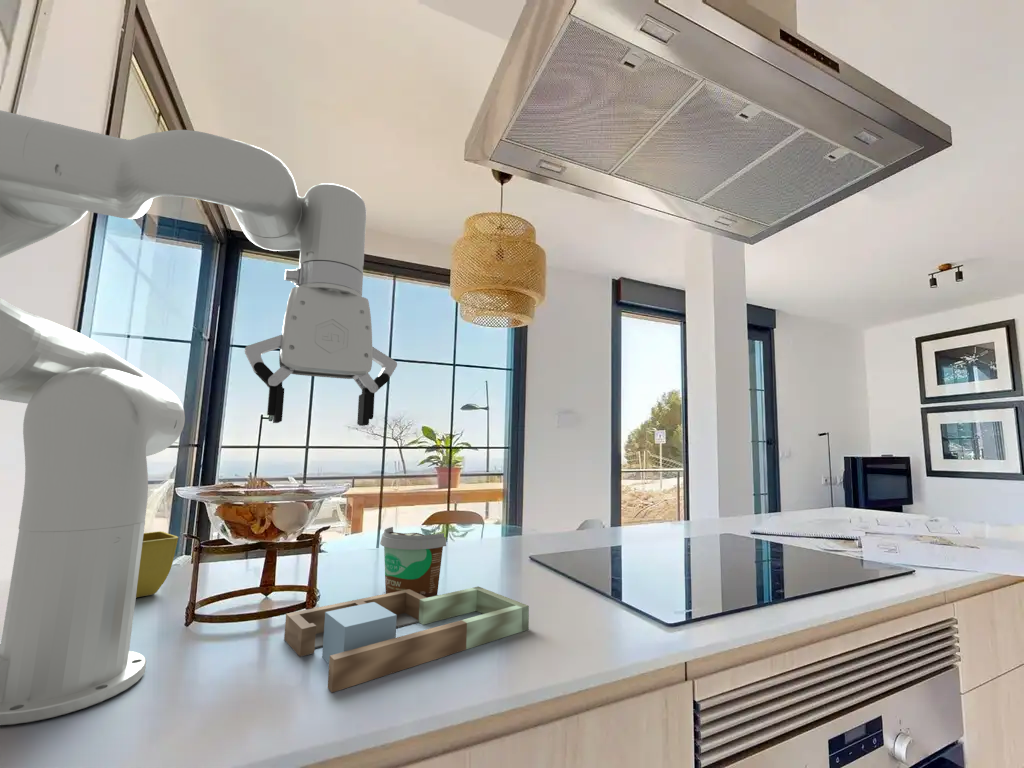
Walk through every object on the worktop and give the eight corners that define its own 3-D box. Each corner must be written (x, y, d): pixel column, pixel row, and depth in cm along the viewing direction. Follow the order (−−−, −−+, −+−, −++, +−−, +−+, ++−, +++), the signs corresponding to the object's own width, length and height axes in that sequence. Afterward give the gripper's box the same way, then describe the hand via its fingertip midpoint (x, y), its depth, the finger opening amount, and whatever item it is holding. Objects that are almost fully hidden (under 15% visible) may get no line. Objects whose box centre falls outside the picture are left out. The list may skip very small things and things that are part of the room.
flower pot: (102, 609, 68) (110, 545, 69) (87, 597, 73) (95, 537, 74) (173, 594, 75) (179, 536, 76) (155, 584, 80) (161, 530, 81)
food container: (361, 594, 76) (364, 531, 78) (387, 585, 82) (390, 526, 83) (420, 607, 71) (423, 539, 72) (444, 596, 76) (446, 533, 77)
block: (341, 677, 49) (345, 627, 49) (322, 658, 53) (325, 612, 54) (394, 661, 53) (396, 615, 53) (371, 644, 57) (374, 601, 58)
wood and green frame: (331, 692, 45) (334, 659, 46) (284, 639, 58) (286, 613, 58) (528, 629, 62) (528, 605, 63) (458, 598, 75) (459, 579, 75)
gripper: (252, 261, 50) (238, 419, 48) (407, 290, 59) (402, 425, 57) (250, 282, 57) (237, 422, 54) (390, 305, 66) (385, 427, 63)
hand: (321, 423), depth 56 cm, fingers open, 9 cm apart
